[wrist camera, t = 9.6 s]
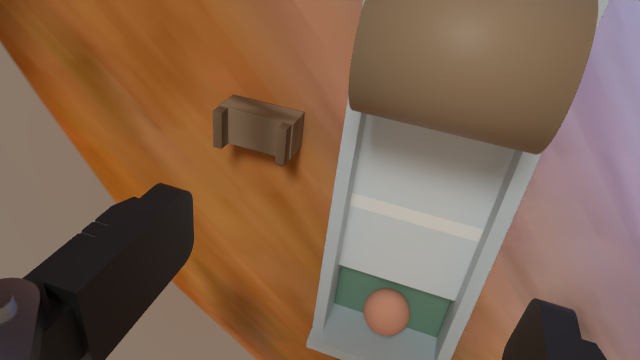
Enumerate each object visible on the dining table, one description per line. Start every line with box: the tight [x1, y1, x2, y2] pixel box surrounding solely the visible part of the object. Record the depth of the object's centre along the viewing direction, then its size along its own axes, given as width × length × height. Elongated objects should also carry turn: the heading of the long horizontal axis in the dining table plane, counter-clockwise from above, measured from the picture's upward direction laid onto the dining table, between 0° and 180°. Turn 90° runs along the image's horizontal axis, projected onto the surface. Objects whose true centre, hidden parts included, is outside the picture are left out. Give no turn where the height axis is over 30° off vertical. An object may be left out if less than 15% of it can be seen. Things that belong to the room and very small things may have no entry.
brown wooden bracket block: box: [213, 95, 304, 166], centre depth 35 cm, size 6×3×3 cm, turn 83°
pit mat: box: [335, 266, 451, 337], centre depth 41 cm, size 10×6×1 cm, turn 83°
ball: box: [363, 288, 410, 336], centre depth 39 cm, size 4×4×4 cm
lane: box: [306, 0, 609, 360], centre depth 31 cm, size 12×32×10 cm, turn 173°
